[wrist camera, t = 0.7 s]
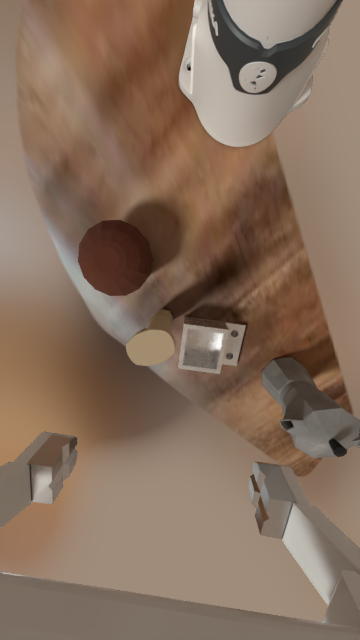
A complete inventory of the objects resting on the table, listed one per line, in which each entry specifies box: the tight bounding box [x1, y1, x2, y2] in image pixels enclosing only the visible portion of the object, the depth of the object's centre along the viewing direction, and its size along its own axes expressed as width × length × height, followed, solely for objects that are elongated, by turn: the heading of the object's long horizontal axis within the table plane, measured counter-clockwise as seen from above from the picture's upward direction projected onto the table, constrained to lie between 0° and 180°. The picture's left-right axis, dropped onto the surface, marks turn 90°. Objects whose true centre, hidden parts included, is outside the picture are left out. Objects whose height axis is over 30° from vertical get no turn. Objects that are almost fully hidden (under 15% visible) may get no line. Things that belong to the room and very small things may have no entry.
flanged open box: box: [178, 316, 246, 374], centre depth 40 cm, size 9×12×5 cm
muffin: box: [78, 220, 152, 296], centre depth 33 cm, size 12×11×10 cm
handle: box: [126, 309, 175, 366], centre depth 34 cm, size 5×6×15 cm
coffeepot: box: [262, 357, 360, 458], centre depth 35 cm, size 15×9×18 cm, turn 78°
